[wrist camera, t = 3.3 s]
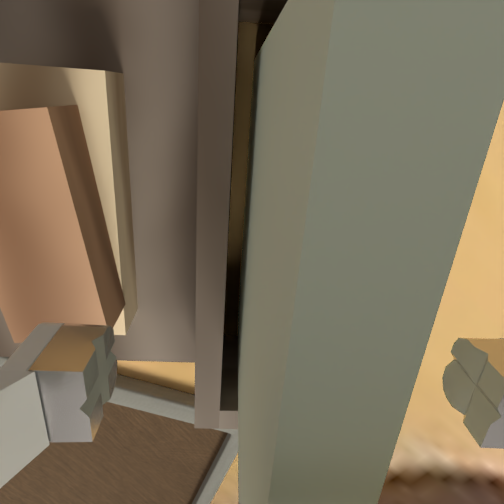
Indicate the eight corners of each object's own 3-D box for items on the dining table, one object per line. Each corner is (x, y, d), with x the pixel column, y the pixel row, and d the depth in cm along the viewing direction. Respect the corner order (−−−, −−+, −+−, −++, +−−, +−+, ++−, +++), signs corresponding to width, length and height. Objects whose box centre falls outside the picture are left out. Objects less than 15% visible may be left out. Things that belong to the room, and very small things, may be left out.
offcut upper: (77, 104, 14) (46, 107, 12) (125, 304, 18) (109, 335, 16) (-27, 112, 14) (-77, 116, 12) (42, 310, 18) (14, 342, 16)
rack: (339, -2, 16) (390, -48, 11) (290, 352, 24) (306, 430, 19) (-80, -40, 15) (-256, -114, 10) (9, 344, 23) (-62, 423, 17)
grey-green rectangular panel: (287, 63, 17) (561, -87, 3) (263, 315, 23) (311, 714, 8) (253, 60, 17) (350, -111, 3) (237, 314, 23) (239, 717, 8)
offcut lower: (123, 73, 16) (104, 70, 14) (138, 308, 21) (125, 335, 19) (4, 64, 16) (-35, 59, 14) (46, 304, 21) (22, 331, 18)
